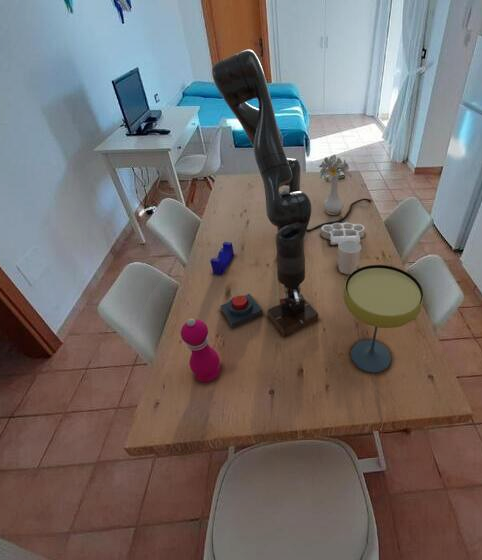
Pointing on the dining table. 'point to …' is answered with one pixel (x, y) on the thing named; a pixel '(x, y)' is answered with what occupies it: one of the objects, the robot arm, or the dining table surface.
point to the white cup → (348, 256)
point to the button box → (241, 312)
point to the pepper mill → (200, 350)
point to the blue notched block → (222, 258)
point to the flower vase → (333, 183)
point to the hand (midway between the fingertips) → (292, 310)
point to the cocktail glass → (380, 308)
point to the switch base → (292, 319)
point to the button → (239, 302)
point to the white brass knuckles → (342, 232)
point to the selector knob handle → (286, 308)
